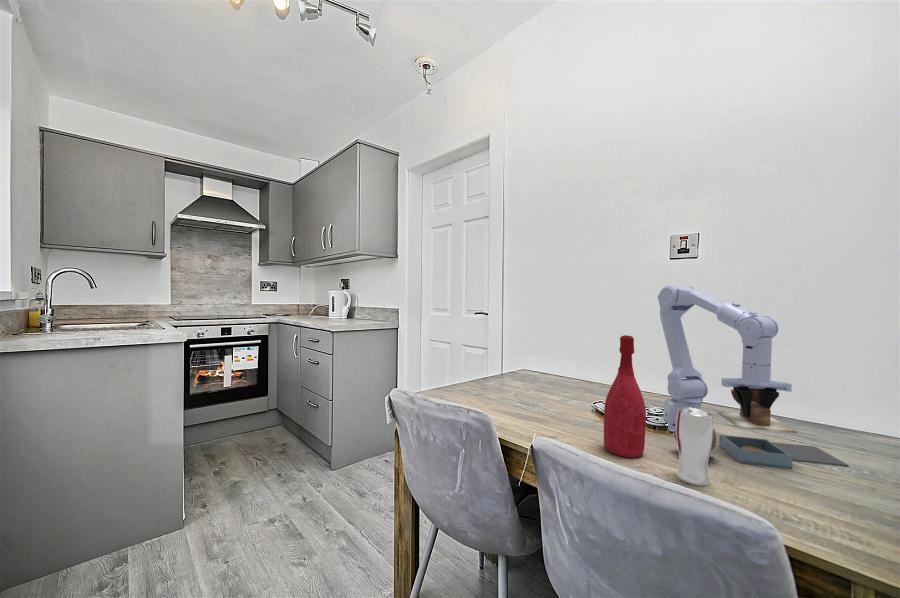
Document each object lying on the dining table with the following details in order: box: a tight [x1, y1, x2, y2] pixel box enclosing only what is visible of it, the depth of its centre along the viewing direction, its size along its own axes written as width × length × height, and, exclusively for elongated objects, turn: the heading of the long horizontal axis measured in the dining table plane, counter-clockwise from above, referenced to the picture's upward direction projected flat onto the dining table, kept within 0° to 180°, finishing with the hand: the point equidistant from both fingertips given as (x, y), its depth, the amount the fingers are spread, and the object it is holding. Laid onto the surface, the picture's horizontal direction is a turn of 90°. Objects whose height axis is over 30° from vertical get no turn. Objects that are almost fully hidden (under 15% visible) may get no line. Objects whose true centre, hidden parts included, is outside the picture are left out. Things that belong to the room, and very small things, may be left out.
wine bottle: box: [603, 334, 647, 458], centre depth 99 cm, size 10×10×30 cm
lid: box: [717, 401, 798, 434], centre depth 98 cm, size 12×12×4 cm
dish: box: [718, 434, 793, 469], centre depth 98 cm, size 11×11×3 cm
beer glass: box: [676, 407, 714, 487], centre depth 85 cm, size 7×7×15 cm
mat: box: [771, 441, 850, 468], centre depth 101 cm, size 14×12×1 cm
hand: (754, 416), depth 98 cm, fingers closed on lid, 3 cm apart
